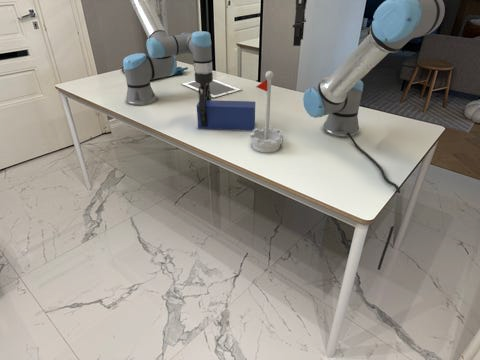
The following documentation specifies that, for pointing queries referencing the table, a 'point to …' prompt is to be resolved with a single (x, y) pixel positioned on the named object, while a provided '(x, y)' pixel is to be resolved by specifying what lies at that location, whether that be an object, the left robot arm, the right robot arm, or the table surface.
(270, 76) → the flag stand
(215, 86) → the tablet
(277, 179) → the table surface
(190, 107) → the table surface
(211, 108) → the box
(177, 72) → the submachine gun
